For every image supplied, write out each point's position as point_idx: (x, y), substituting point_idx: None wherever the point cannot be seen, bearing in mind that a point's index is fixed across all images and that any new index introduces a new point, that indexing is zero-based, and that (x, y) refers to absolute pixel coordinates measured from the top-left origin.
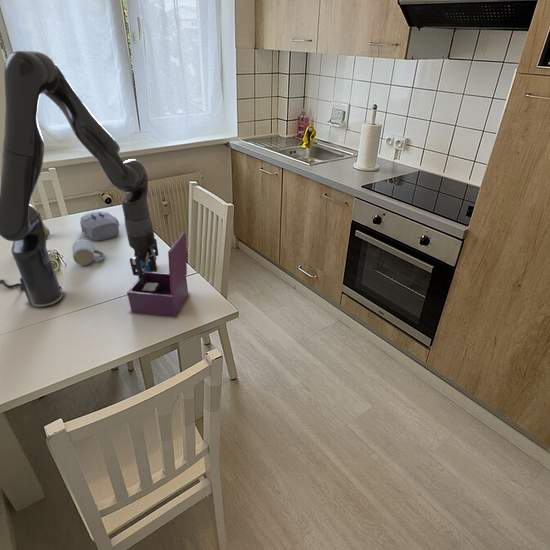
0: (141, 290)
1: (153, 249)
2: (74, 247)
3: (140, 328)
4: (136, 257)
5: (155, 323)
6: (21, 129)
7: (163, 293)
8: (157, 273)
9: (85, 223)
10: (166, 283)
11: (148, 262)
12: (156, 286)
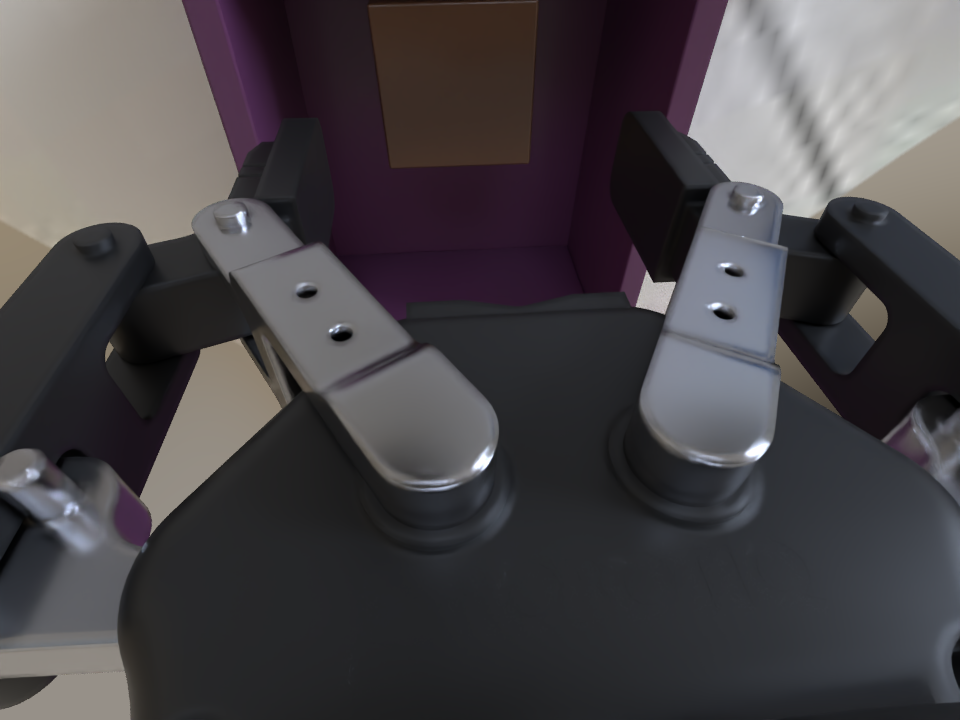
0: (368, 8)
1: (859, 365)
2: None
3: (86, 76)
4: (24, 675)
5: (204, 166)
6: None
7: (559, 89)
8: (668, 120)
9: None
10: (611, 152)
11: (674, 174)
12: (470, 159)
